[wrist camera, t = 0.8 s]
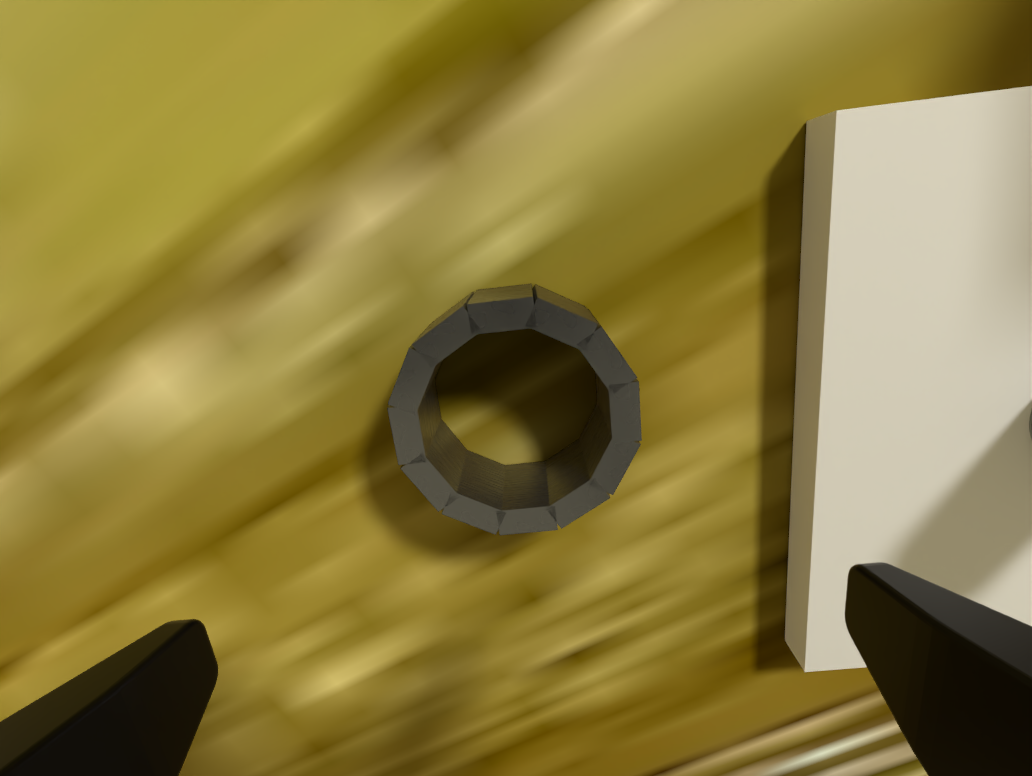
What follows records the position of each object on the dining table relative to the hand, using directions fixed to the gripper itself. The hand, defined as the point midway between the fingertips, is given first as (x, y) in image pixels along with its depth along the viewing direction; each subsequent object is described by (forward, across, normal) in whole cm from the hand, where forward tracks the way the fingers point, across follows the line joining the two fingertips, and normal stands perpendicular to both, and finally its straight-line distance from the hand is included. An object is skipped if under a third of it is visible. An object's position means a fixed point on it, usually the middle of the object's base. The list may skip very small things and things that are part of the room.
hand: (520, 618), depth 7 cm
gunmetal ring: (+10, 0, 0) cm, 11 cm away
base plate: (+10, -17, +2) cm, 20 cm away
